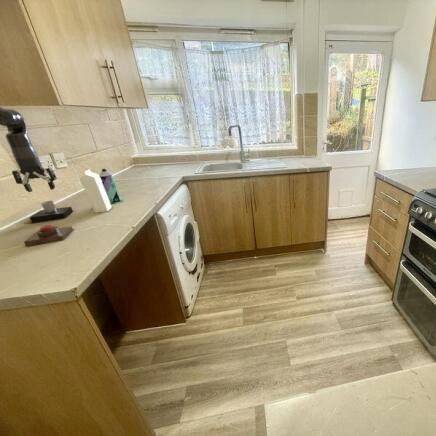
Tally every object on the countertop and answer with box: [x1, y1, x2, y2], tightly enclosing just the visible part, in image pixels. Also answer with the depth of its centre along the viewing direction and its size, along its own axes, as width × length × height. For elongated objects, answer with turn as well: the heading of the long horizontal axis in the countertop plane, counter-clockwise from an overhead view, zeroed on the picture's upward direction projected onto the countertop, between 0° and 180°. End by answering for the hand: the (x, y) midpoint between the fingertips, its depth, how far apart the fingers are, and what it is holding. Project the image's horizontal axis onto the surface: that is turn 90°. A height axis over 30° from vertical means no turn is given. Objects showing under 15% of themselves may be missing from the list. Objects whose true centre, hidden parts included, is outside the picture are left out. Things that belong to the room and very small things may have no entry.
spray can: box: [98, 168, 122, 204], centre depth 138 cm, size 6×6×20 cm
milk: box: [80, 168, 112, 214], centre depth 126 cm, size 6×6×22 cm
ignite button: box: [39, 224, 53, 232], centre depth 101 cm, size 4×4×2 cm
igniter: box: [23, 225, 74, 248], centre depth 102 cm, size 12×10×4 cm
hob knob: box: [40, 200, 57, 213], centre depth 122 cm, size 4×4×5 cm
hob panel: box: [29, 206, 74, 224], centre depth 124 cm, size 13×10×3 cm
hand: (41, 190), depth 118 cm, fingers open, 8 cm apart
